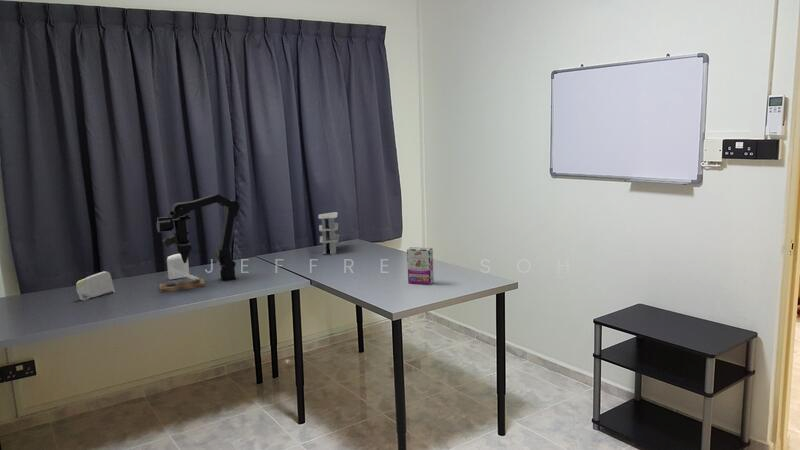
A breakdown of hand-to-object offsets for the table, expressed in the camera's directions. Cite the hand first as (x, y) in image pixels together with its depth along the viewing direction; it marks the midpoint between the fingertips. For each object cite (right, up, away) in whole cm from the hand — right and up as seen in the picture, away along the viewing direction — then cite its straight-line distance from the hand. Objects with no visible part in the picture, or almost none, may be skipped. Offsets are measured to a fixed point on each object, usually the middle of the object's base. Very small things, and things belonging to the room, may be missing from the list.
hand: (184, 261), depth 278 cm
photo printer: (-10, -10, +19) cm, 24 cm away
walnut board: (-1, -12, +1) cm, 12 cm away
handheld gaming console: (-36, -16, -10) cm, 41 cm away
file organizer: (+61, +2, +71) cm, 93 cm away
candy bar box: (+112, -9, -8) cm, 113 cm away
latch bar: (0, -7, +1) cm, 7 cm away
